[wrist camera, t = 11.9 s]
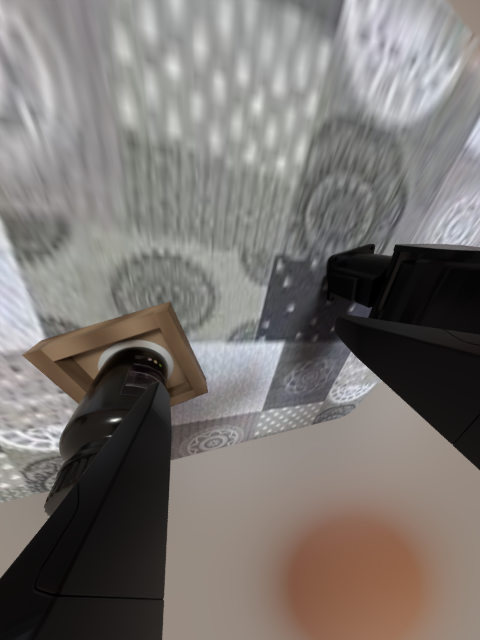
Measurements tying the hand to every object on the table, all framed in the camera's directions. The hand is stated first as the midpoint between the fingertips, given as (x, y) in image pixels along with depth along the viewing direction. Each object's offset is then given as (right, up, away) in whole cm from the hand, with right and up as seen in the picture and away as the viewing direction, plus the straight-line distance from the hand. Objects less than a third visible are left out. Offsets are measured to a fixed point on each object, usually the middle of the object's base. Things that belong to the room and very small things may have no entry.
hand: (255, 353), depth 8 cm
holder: (-13, -4, +13) cm, 19 cm away
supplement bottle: (-13, -4, +12) cm, 18 cm away
